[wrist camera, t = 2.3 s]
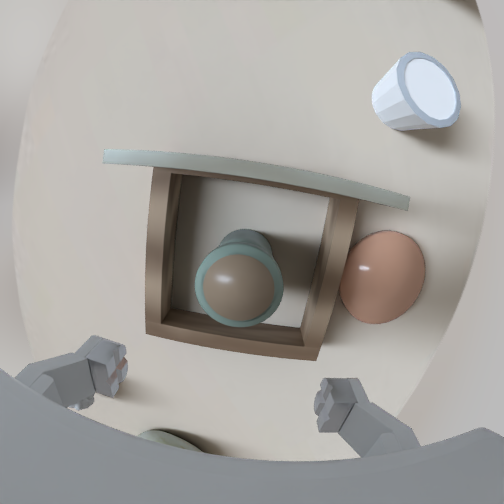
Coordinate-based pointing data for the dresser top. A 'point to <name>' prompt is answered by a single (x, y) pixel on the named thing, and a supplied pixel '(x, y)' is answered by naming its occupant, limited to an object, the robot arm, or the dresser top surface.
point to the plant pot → (240, 280)
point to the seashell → (167, 439)
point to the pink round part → (382, 277)
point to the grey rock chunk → (83, 403)
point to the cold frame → (176, 164)
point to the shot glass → (417, 94)
